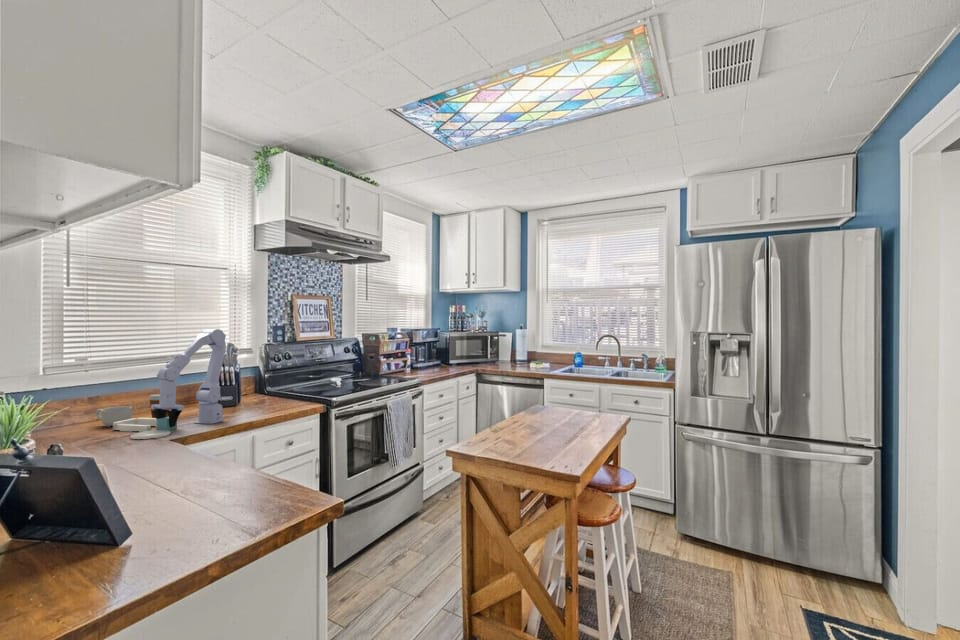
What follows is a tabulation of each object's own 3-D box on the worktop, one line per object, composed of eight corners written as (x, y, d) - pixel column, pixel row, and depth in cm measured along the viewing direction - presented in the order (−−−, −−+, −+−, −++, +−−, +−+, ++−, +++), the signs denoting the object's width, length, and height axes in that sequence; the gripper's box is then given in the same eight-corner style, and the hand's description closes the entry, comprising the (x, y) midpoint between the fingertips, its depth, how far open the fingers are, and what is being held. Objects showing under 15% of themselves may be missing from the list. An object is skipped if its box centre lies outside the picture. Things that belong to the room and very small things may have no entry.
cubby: (169, 426, 190) (169, 418, 190) (146, 432, 179) (146, 423, 179) (137, 425, 193) (137, 417, 193) (112, 430, 182) (113, 422, 182)
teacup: (137, 423, 197) (138, 406, 197) (115, 428, 186) (116, 410, 186) (110, 422, 198) (111, 405, 198) (87, 427, 187) (87, 409, 188)
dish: (178, 433, 178) (178, 430, 178) (149, 440, 165) (149, 438, 165) (151, 431, 180) (151, 429, 180) (121, 439, 167) (121, 436, 167)
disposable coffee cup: (142, 420, 203) (143, 395, 204) (162, 416, 212) (163, 393, 213) (157, 421, 201) (158, 396, 201) (176, 418, 210) (177, 393, 210)
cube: (176, 428, 186) (177, 417, 186) (166, 431, 181) (167, 419, 181) (166, 428, 187) (167, 416, 187) (156, 430, 182) (156, 419, 182)
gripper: (144, 395, 182) (143, 427, 181) (174, 396, 179) (173, 428, 179) (159, 393, 189) (158, 424, 188) (188, 394, 186) (187, 425, 186)
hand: (166, 426), depth 184 cm, fingers closed on cube, 5 cm apart
